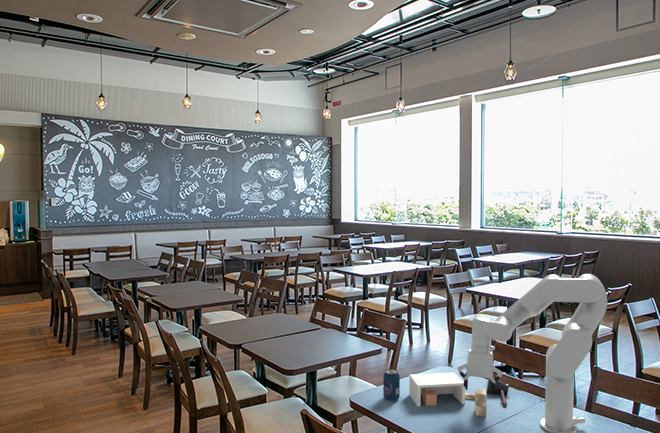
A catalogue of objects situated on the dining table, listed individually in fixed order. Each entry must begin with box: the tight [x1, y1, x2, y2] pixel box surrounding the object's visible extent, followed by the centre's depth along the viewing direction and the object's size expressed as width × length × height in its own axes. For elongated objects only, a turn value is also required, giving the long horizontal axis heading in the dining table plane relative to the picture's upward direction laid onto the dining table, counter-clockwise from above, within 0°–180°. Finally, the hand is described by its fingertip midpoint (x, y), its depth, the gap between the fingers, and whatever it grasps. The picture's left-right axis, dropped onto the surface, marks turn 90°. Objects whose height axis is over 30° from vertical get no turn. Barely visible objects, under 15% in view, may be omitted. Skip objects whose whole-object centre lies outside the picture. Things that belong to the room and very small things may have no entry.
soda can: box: [382, 368, 401, 402], centre depth 206 cm, size 7×7×12 cm
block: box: [422, 390, 438, 406], centre depth 203 cm, size 4×4×4 cm
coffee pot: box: [485, 378, 510, 408], centre depth 208 cm, size 8×18×8 cm
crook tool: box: [465, 388, 488, 417], centre depth 199 cm, size 7×17×9 cm, turn 167°
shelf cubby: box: [408, 371, 466, 408], centre depth 206 cm, size 20×12×9 cm, turn 97°
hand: (478, 390), depth 193 cm, fingers open, 9 cm apart
